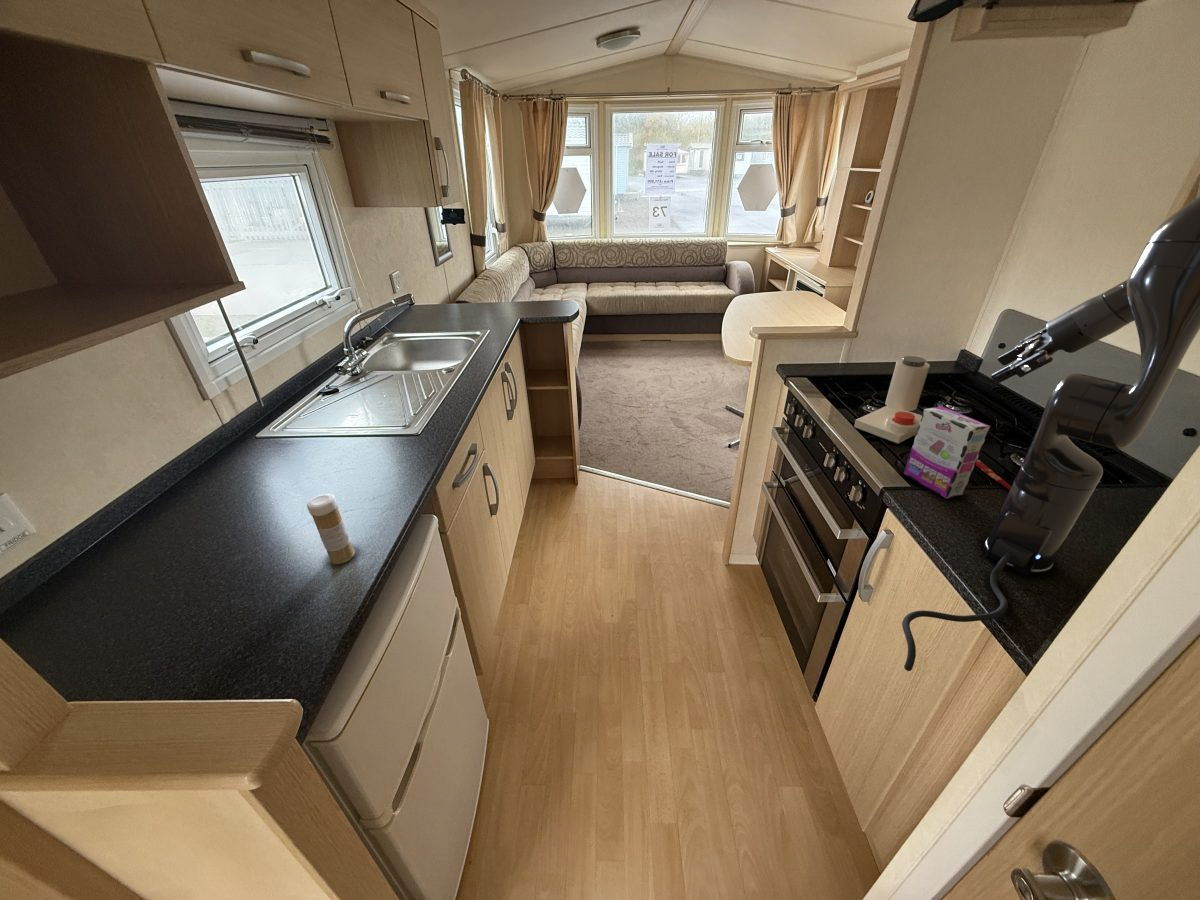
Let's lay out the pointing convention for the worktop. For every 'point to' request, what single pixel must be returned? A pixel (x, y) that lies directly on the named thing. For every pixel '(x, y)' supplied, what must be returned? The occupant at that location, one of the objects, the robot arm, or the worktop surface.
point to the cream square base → (888, 425)
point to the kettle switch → (904, 418)
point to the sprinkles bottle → (331, 528)
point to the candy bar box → (945, 451)
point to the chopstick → (992, 474)
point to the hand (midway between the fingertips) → (997, 370)
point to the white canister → (907, 383)
